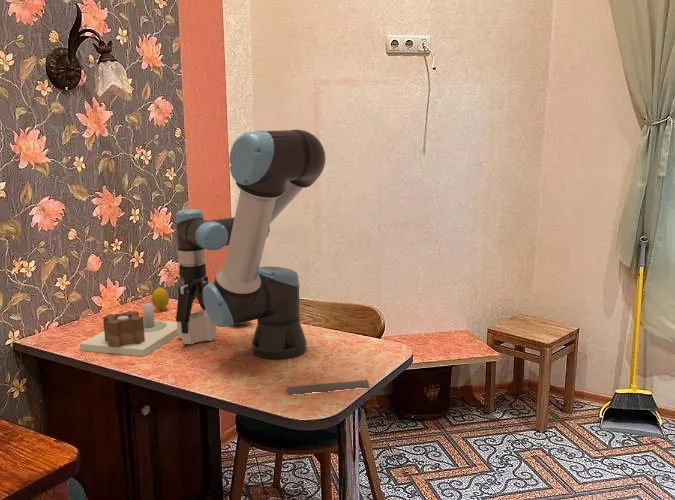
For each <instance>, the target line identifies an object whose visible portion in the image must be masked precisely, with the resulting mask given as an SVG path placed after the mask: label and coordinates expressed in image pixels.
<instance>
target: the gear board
mask: <svg viewBox="0 0 675 500" xmlns="http://www.w3.org/2000/svg"><path fill="white" fill-rule="evenodd" d="M154 313H155V312H154V305H153V303H152V302H145V303H142V314H143V316H142V317H143V322H144V335H145V341H143V342H142V343H140V344H129V345H123V346H120V347H119V348H118V347H109V341H105V333H104V330H103V331H101V332H99V333H98V334H96V335H93V336H91V337H90V338H87V339H86V340H84V341H83V342H80V343H79V349H80V351H82V352H92V353H101V354H111V353H112V355H113V353H114V355H121V354H122V355H123V356H130V357H131V356H134V357H141V358H142V357H146V356H147V355H149V354H150V353H152V352H153V351H155V350H156V349H158V348H160V347H161V346H163V345H164V344H166V343H168V342H169V341H170V340H171V339H173V338H175V337H178V331H177V322H176V321H170V320H169V321H168V320H155V315H154ZM117 319H119V320H122V319H129V318H128V316H119V317H117Z"/></svg>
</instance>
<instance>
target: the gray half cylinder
mask: <svg viewBox="0 0 675 500" xmlns="http://www.w3.org/2000/svg"><path fill="white" fill-rule="evenodd" d="M355 388H369V389H370V382H369V380H368V379H363V380H362V379H361V380H352V381H351V380H350V381H341V382H339V381H338V382H330V383H328V382H327V383H320V384H319V383H316V384H306V385H305V384H304V385H303V384H302V385H294V386H287V387H286V390H287V392H288V395H289V396H290V395H293V394H304V395H306V394H305V393H312V392H327V393H329V392H328V391H335V390H345V389H355ZM293 396H294V395H293Z"/></svg>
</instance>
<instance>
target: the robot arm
mask: <svg viewBox="0 0 675 500" xmlns="http://www.w3.org/2000/svg"><path fill="white" fill-rule="evenodd" d="M231 146H232V147H231V149H230V153H229V164H230V166H229V171H230V173H231V177H232V178H233V179H234V181H235V185H236V187H237V188H238V189H239V195H238V198H237V199H238V200H237V205H236V209H235V213H234V217H233V216H232V217H228V218H227V217H226V218H218V219H205V218H204V215H203V211H202V210H200V209H197V208H195V209H194V208H192V209H191V208H190V209H181V210H178V211H177V212H176V213H175V229H176V231H175V232H176V242H177V255H178V263H179V266H178V272H179V278H180V279H182V280H183V286H178V287H177V292H178V293H177V294H178V297H177V307H176V314H175V322H181V330H182V338H181V342H182V345H184V344H185V345H193V344H192V332H191V321H189V319H190V314H191V312H192V310H193V309H192V308H193V304H194V301H195V300H197V301H198V304H199V307H200V309H201V310H206V312H207V314H208V316H209V318H210V320H211V321H212V322H213V323H214V324H215V325H216V327H218V328H225V327H232V326H233V327H234V326H236V325H241V324H240V323H244V322H246V323H248V322H251V321H257V323H256V328H255V331H254V334H253V337H252V341H251V349H252V350H251V351H252V353H253V355H255V356H257V357H259V358H263V359H271V360H283V359H291V358H294V357H297V356H298V357H299V356H300V355H302V354H304V353H305V352H306V351H307V349H308V348H307V347H308V346H307V345H308V344H307V343H308V342H307V339H306V338H307V337H306V336H305V333H304V331H303V327H302V324H301V322H300V320H301V319H300V317H301V316H300V315H301V313H300V281H299V275H298V272H297V271H295V270H293V269H291V268H286V267H281V266H260V265H261V261H262V256H263V253H264V249H265V246H266V245H265V244H266V240H267V238H268V237H269V232H270V229H271V228H270V227H271V226H270V225H271V223H272V222H273V221H274V220H275V219H276V218H277V217H278V216H279V214H281V213H282V211H284V209H286V208H287V206H288V205H289V204H290V203H291V202H292V201H293V200H294V198H295V197H297V195H298V194H299V193H300V192H301V191H302V190H303V189H306V188H309V187H311V186H312V185H313V184H314V183H315V182H316V181H317V180H318V179H319V177H320V176H321V175H322V173H323V170H324V169H325V165H326V151H325V149H324V145H323V144H322V142H321V141H320V139H319V138H318V137H316V136H315V135H314V134H312V133H311V132H309V131H307V130H303V129H292V130H291V129H289V130H288V129H286V130H283V129H282V130H262V129H259V130H258V129H257V130H255V131H246V132H244V133H243V134H240V135H238V137H237V138H236V139H235V140H234V142H233V144H232V145H231ZM226 246H228V247H227V252H226V255H225V256H226V257H225V261H224V265H223V266H222V267H220V268H219V269H218V270H217V271H216V274H215V277H214V282H209V277H208V276H207V266H206V263H205V262H206V261H207V260H206V250H208V251H219V250H221V249H222V248H223V247H226Z"/></svg>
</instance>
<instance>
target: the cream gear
mask: <svg viewBox="0 0 675 500" xmlns="http://www.w3.org/2000/svg"><path fill="white" fill-rule="evenodd" d="M189 321H191V332H192V344H191V345H194V344H195V343H201V342H205V341H209V342H212V341H214V340H215V339H216V338H217V328H216V327H217V326H216V325H215V324H214V323H213V322H212V321H211V320H210V318H209V316H208V314H207V312H206V310H203V309H202V308H200V309H198V310H195V311H194V310H193V311H191V314H190V319H189ZM177 331H178V335H177V338H178V339H182V330H181V322H177Z"/></svg>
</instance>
